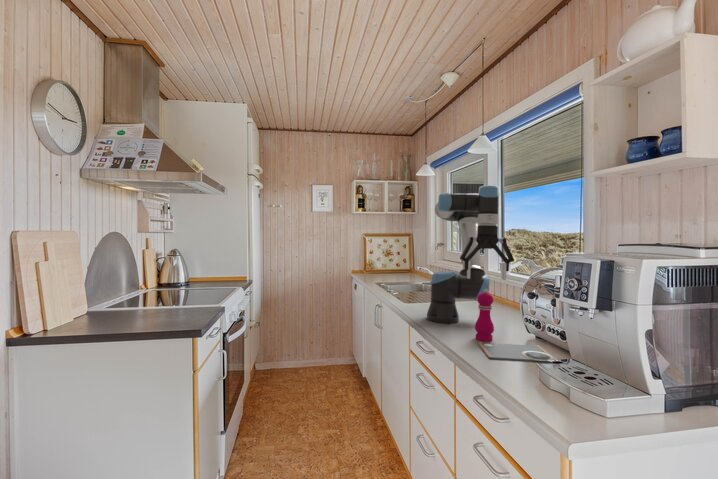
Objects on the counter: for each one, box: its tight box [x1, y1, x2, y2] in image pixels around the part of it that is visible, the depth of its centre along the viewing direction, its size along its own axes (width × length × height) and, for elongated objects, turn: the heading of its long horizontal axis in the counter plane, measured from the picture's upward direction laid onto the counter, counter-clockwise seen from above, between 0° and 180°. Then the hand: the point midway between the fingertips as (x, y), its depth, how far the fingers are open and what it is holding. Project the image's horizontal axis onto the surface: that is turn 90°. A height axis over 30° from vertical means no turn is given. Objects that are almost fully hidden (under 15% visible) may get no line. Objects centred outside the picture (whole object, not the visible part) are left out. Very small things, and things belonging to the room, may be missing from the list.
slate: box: [477, 341, 558, 362], centre depth 126 cm, size 17×22×1 cm
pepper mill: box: [474, 289, 495, 343], centre depth 142 cm, size 7×7×20 cm
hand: (486, 279), depth 141 cm, fingers open, 13 cm apart
